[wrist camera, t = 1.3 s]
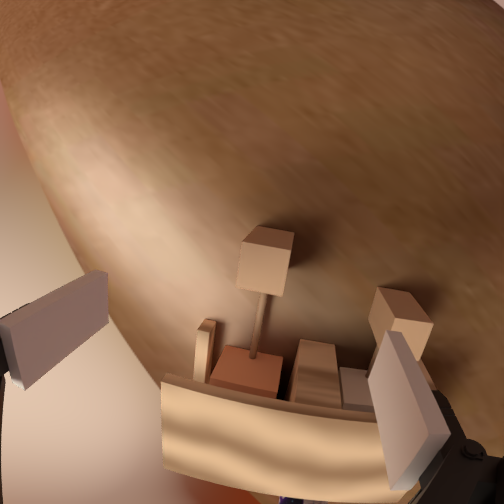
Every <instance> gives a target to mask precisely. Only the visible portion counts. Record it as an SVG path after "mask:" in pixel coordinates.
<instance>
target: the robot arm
mask: <svg viewBox="0 0 504 504" xmlns="http://www.w3.org/2000/svg"><path fill="white" fill-rule="evenodd" d="M108 321H109V320H108V273H106V272H103V271H99V270H94V271H92V272H89V273H87V274H85V275H84V276H82V277H80V278H78V279H76V280H74V281H72V282H70V283H68V284H66V285H64V286H62V287H60V288H58V289H56V290H54V291H52V292H50V293H48V294H46V295H45V296H43V297H41V298H39V299H37V300H35V301H33V302H31V303H28V304H26V305H24V306H22V307H20V308H19V309H16V310H14V311H13V312H12V313H9V314H7V315H5V316H3V317H2V318H0V504H3V497H2V481H1V431H2V430H1V429H2V413H3V401H4V391H5V377H4V374H5V373H6V372H8V371H9V372H10V376H11V379H12V383H14V384H15V385H17V386H18V387H20V388H22V389H23V390H26V389H27V388H29V387H30V386H31V385H32V384H33V383H35V382H36V381H37V380H38V379H40V378H41V377H42V376H43V375H44V374H46V373H47V372H48V371H49V370H51V369H52V368H53V367H54V366H55V365H56V364H58V363H59V362H60V361H62V360H63V359H64V358H65V357H66V356H68V355H69V354H70V353H71V352H72V351H74V350H75V349H76V348H78V347H79V346H80V345H81V344H83V343H84V342H85V341H86V340H88V339H89V338H90V337H91V336H93V335H94V334H95V333H96V332H98V331H99V330H100V329H101V328H103V327H104V326H105V325H106V324H108V323H109V322H108ZM368 384H369V388H370V392H371V397H372V401H373V405H374V410H375V414H376V419H377V424H378V428H379V433H380V438H381V443H382V448H383V453H384V459H385V464H386V469H387V475H388V481H389V487H390V491H395V490H411V489H412V487H413V486H414V485H415V484H416V482H417V481H418V480H419V482H420V486H421V489H420V490H419V491H418V492H417V494H416V495H415V496H414V497H413V498H412V499H411V501H410V502H409V503H408V504H504V456H503V458H499V457H493V456H487V453H486V451H485V449H484V448H483V446H482V445H481V444H479V443H478V442H476V441H474V440H471V439H467V438H466V436H465V434H464V432H463V430H462V428H461V426H460V424H459V422H458V420H457V418H456V416H455V413H454V411H453V409H451V405H450V404H449V402H448V400H447V398H446V397H445V396H444V395H443V394H442V393H441V392H440V391H439V390H431V389H430V387H429V385H428V383H427V381H426V379H425V377H424V375H423V373H422V371H421V369H420V367H419V365H418V363H417V361H416V359H415V357H414V355H413V353H412V351H411V349H410V347H409V346H408V344H407V342H406V340H405V338H404V336H403V334H402V332H397V331H390V330H386V331H385V334H384V337H383V340H382V343H381V346H380V349H379V351H378V354H377V357H376V360H375V362H374V365H373V368H372V370H371V373H370V376H369V378H368Z"/></svg>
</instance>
